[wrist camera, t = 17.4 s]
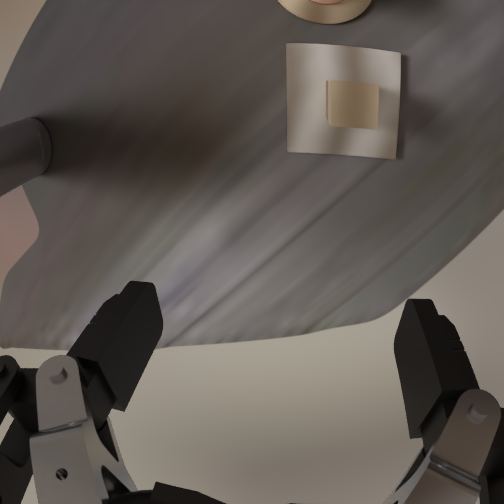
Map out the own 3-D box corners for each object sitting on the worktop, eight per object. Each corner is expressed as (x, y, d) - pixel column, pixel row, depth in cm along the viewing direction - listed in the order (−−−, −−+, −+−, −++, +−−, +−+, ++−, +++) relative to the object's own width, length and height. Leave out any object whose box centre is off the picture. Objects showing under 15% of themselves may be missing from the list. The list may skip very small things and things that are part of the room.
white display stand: (287, 150, 35) (283, 168, 28) (286, 44, 29) (282, 33, 22) (393, 157, 33) (414, 178, 26) (398, 53, 27) (423, 47, 20)
